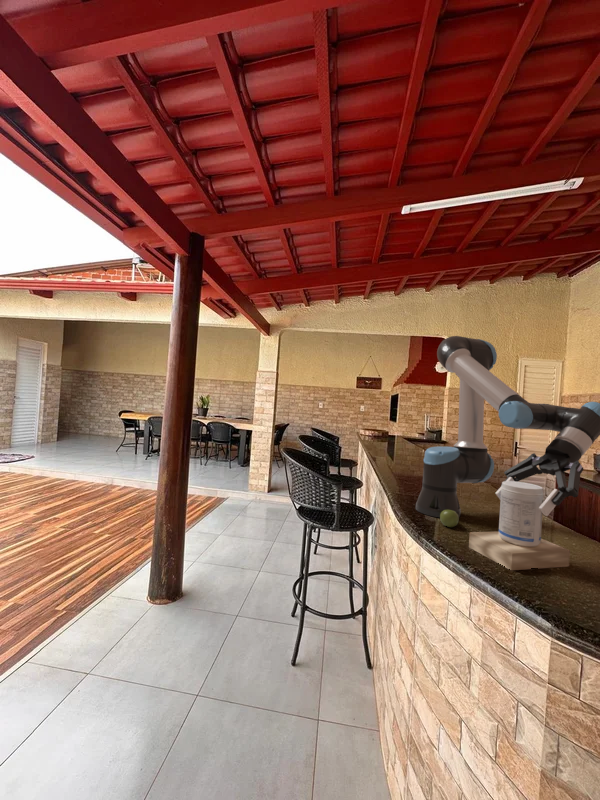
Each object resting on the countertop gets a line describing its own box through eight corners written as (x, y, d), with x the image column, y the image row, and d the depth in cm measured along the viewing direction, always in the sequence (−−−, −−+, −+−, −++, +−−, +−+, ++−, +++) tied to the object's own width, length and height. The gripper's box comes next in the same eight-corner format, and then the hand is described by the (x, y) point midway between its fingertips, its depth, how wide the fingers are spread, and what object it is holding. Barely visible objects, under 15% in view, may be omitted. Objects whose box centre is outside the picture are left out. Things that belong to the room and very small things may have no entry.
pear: (440, 509, 118) (440, 507, 127) (439, 526, 117) (439, 523, 127) (459, 511, 116) (458, 509, 125) (458, 529, 115) (457, 526, 124)
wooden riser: (468, 547, 102) (469, 532, 102) (521, 544, 107) (522, 530, 107) (511, 570, 88) (512, 553, 88) (568, 566, 93) (569, 550, 93)
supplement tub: (512, 533, 104) (515, 480, 104) (548, 545, 95) (552, 487, 96) (490, 536, 99) (493, 481, 99) (526, 550, 91) (530, 489, 91)
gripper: (625, 466, 90) (573, 530, 86) (534, 451, 114) (490, 500, 110) (610, 443, 88) (556, 508, 84) (521, 433, 112) (476, 482, 108)
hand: (519, 504), depth 97 cm, fingers open, 13 cm apart
